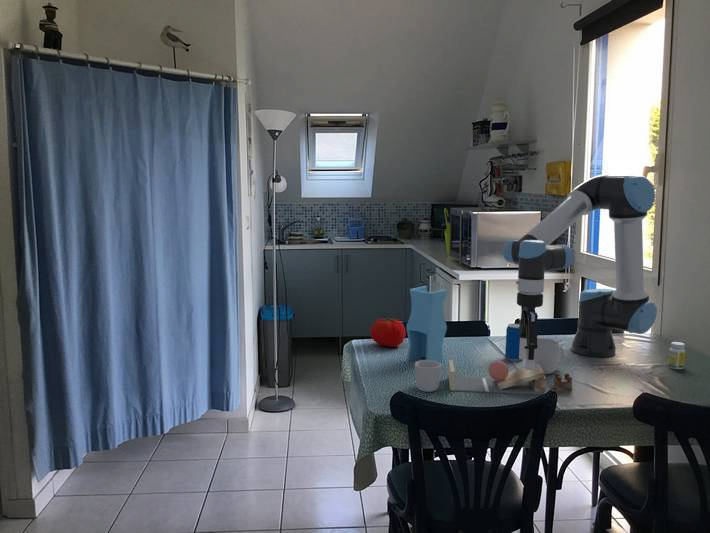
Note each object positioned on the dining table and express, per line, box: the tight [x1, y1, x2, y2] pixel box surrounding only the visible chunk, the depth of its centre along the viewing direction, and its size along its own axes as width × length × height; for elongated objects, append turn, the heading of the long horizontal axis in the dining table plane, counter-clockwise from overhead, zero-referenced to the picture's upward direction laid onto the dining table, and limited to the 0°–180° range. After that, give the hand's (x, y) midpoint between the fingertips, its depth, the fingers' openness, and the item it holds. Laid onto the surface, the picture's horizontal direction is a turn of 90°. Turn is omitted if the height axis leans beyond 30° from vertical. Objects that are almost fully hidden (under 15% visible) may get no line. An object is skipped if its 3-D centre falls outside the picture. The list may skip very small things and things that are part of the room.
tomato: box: [370, 317, 407, 348], centre depth 239 cm, size 13×12×11 cm
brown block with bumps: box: [553, 372, 573, 392], centre depth 193 cm, size 5×5×4 cm
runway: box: [447, 359, 551, 396], centre depth 195 cm, size 30×12×6 cm, turn 84°
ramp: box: [496, 363, 547, 392], centre depth 194 cm, size 14×9×6 cm, turn 84°
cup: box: [414, 359, 442, 393], centre depth 193 cm, size 11×8×8 cm
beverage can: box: [504, 323, 523, 362], centre depth 223 cm, size 6×6×12 cm
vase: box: [405, 285, 448, 363], centre depth 219 cm, size 10×10×25 cm
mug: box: [535, 337, 565, 375], centre depth 211 cm, size 13×9×10 cm
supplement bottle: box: [668, 341, 686, 370], centre depth 215 cm, size 5×5×8 cm
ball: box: [488, 360, 510, 381], centre depth 195 cm, size 6×6×6 cm
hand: (526, 364), depth 194 cm, fingers open, 10 cm apart
